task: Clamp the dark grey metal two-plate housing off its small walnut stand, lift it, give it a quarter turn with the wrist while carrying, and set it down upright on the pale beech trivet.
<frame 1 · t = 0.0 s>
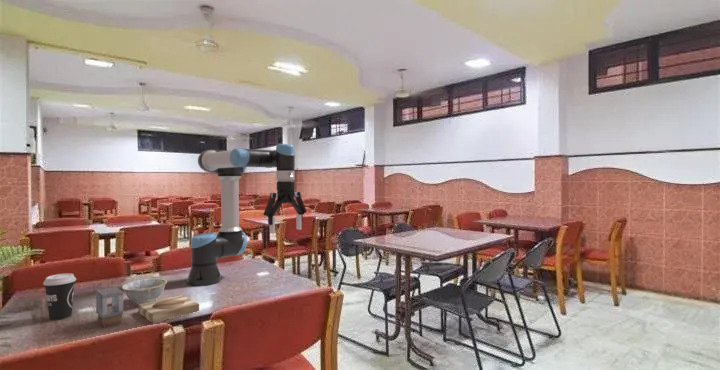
hand: (286, 231, 161), 28 cm above the table, fingers open, 13 cm apart
trivet: (168, 312, 144), on the table
coffee cup: (60, 317, 139), on the table
bowl: (145, 302, 156), on the table
housing: (109, 313, 134), point 3 cm above the table, touching stand a
stand a: (109, 321, 134), on the table
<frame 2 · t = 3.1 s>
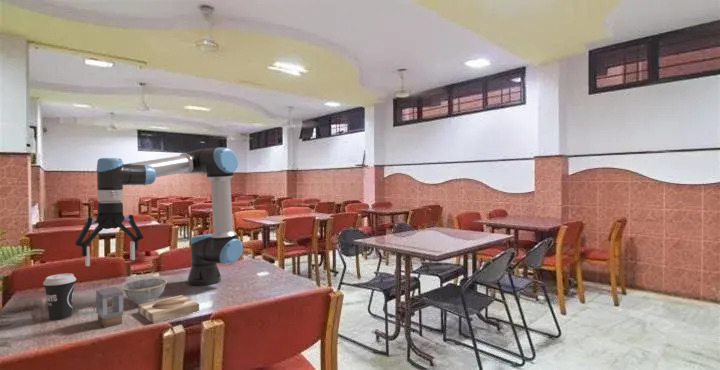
hand: (110, 262, 134), 21 cm above the table, fingers open, 13 cm apart
nothing on the table moved.
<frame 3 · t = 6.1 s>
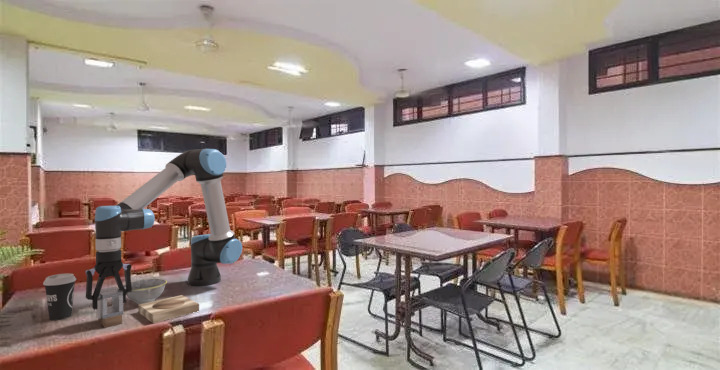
hand: (109, 315, 134), 2 cm above the table, fingers closed on housing, 6 cm apart
housing: (109, 313, 134), point 3 cm above the table, touching gripper, stand a
everything else where it was.
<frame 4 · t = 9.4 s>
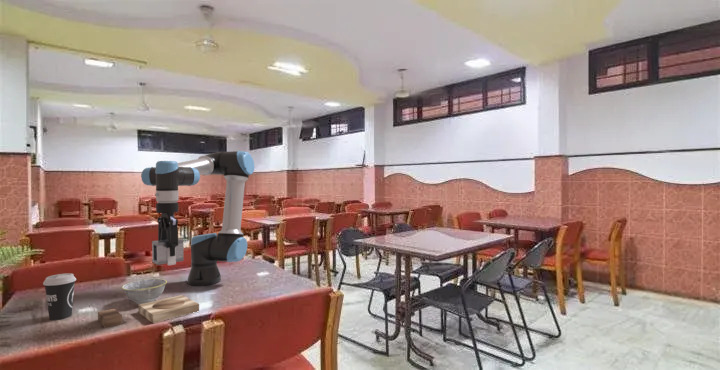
hand: (168, 263, 143), 19 cm above the table, fingers closed on housing, 6 cm apart
housing: (168, 261, 143), point 19 cm above the table, touching gripper
everything else where it was.
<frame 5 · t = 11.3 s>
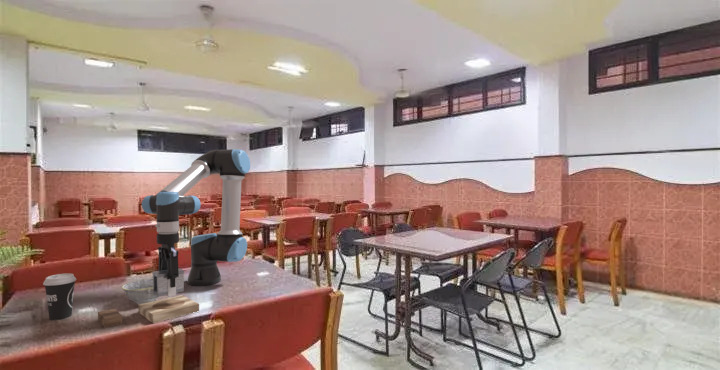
hand: (168, 293, 144), 7 cm above the table, fingers closed on housing, 6 cm apart
housing: (168, 292, 143), point 8 cm above the table, touching gripper
everything else where it was.
when the fingers open (4 cm above the table, at t = 12.8 s): housing drops 1 cm, resting on trivet.
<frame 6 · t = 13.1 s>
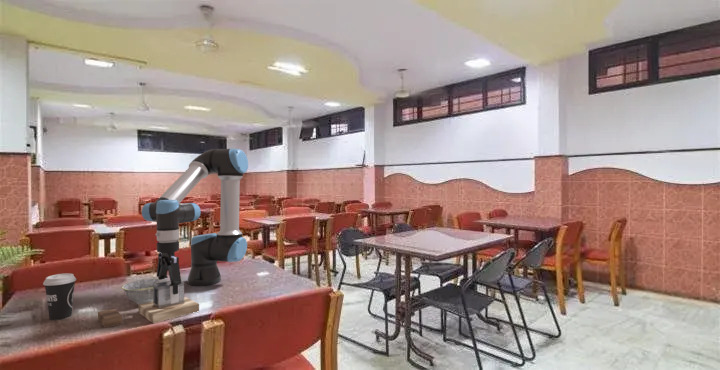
hand: (168, 299, 144), 5 cm above the table, fingers open, 10 cm apart
housing: (168, 304, 144), point 3 cm above the table, touching trivet
everything else where it was.
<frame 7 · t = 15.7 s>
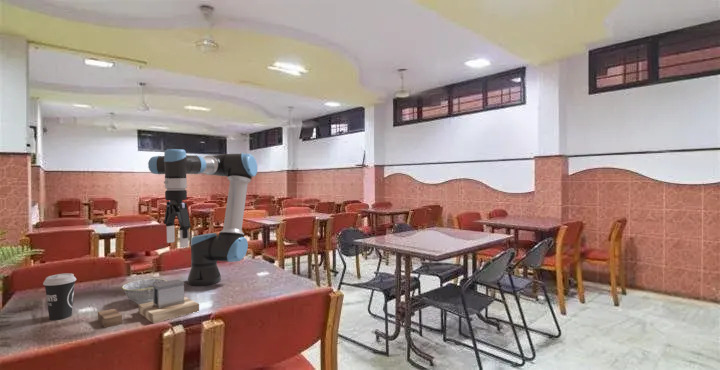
hand: (177, 244, 147), 25 cm above the table, fingers open, 13 cm apart
nothing on the table moved.
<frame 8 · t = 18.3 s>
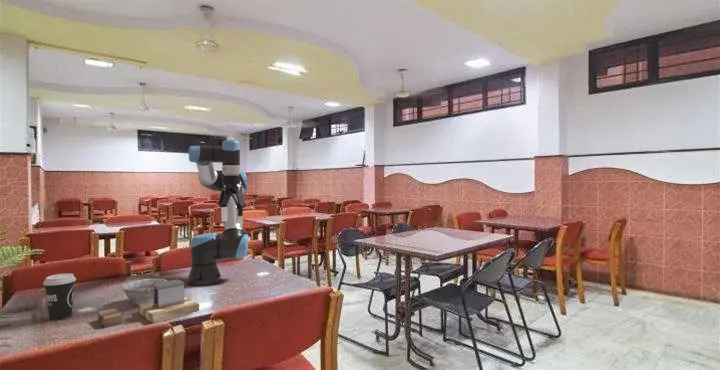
hand: (231, 222, 170), 31 cm above the table, fingers open, 13 cm apart
nothing on the table moved.
at the end: housing inside the target area on the trivet (0.0 cm from its centre), point 3.0 cm above the trivet's base; housing tilted 0°; the gripper is holding nothing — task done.
